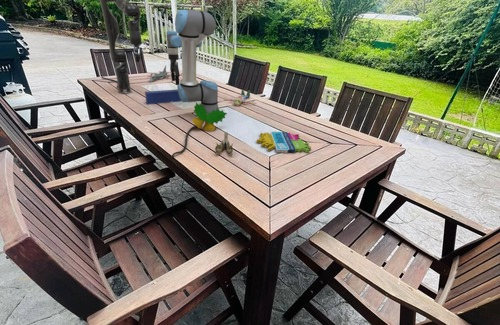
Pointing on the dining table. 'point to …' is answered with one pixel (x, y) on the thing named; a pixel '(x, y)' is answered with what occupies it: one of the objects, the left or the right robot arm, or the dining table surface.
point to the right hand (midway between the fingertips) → (175, 82)
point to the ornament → (207, 117)
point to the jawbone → (224, 145)
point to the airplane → (159, 75)
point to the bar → (162, 96)
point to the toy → (241, 99)
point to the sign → (283, 142)
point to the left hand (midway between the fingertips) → (138, 60)
